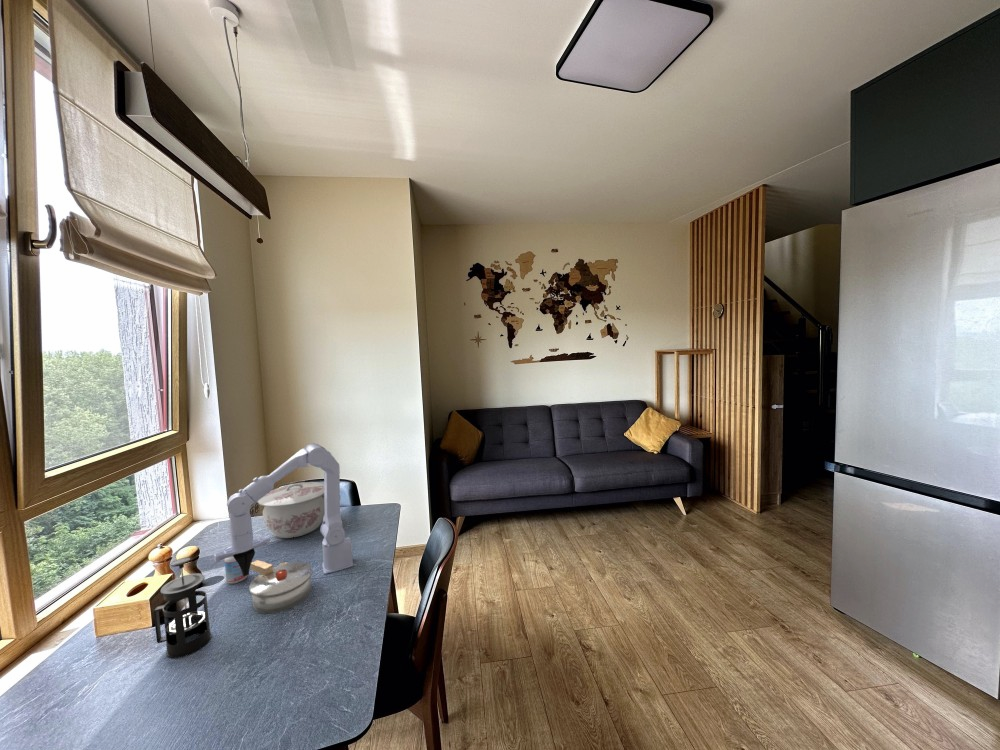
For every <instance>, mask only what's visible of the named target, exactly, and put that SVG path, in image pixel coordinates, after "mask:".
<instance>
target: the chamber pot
mask: <svg viewBox="0 0 1000 750" xmlns="http://www.w3.org/2000/svg"><path fill="white" fill-rule="evenodd" d="M257 503H258V505H259V506H263V507H264V508H263V510H262V518H263V522H264V524H265V527H266V528H267V529H268V530H269V531H270V532H271V534H272V535H274V536H276V537H278V538H281V539H291V538H292V539H294V538H298V537H302V536H305V535H308V534H309V533H312V532H314V531H315V530H316V529H318V528H320V527H319V526H321V525H322V523H323V517H324V515H325V503H324V482H319V481H318V482H317V481H309V482H307V481H306V482H297V483H292V484H288V485H283V486H281V487H277V488H273V490H272V491H270V492H269V493H268V494H266V495H265V496H264V497H262V498H261V499H260V500H258V501H257ZM293 537H294V538H293Z"/></svg>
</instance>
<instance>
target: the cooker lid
mask: <svg viewBox="0 0 1000 750" xmlns="http://www.w3.org/2000/svg"><path fill="white" fill-rule="evenodd" d="M249 570H251V571H253V572H256V573H259V574H258V575H256V576H255V577H254V578H253V579H252V580H251V582H250V584H249V588H248V589H249V593H250V595H251V596H252V595H253V596H256V597H273V596H278V595H282V594H285V593H287V592H290V591H292V590H294V589H296V588H298V587H300V586H301V585H303V584H304V583H305V582H306V581H308V579H309V578H310V577H311V578H312V575H313V568H312V566H311V565H310V564H309V563H307V562H301V561H299V562H298V561H295V562H287V563H286V564H282V565H279V564H278V565H277V566H274V565H273V564H272V563H268V562H265V561H262V560H259V559H256V560H255V561H252V562H251V565H250V569H249Z"/></svg>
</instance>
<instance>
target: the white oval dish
mask: <svg viewBox="0 0 1000 750" xmlns="http://www.w3.org/2000/svg"><path fill="white" fill-rule="evenodd" d="M286 563H288V562H287V561H285V562H282V563H279V564H278V566H279V565H282V564H286ZM312 589H313V588H312V576H311V577H310V578H309V579H308V581H306V582H305V583H304V584H303V585H301V586H300V587H298V588H296V589H294V590H292V591H290V592H287V593H285V594H282V595H278V596H273V597H256V596H253V595H252V594H251V599H252V609H253V611H255V612H256V613H258V614H261V615H266V614H267V615H268V614H269V615H271V614H277V613H281V612H284V611H287V610H289V609H292V608H294V607H296V606H297V605H299V604H301V603H302V602H303V601H305V600H306V599H308V597H309V596H310V595H311V593H312Z"/></svg>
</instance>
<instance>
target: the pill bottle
mask: <svg viewBox="0 0 1000 750" xmlns="http://www.w3.org/2000/svg"><path fill="white" fill-rule="evenodd" d="M230 547H232V545H231V546H228V547H227V548H226V549H228V548H230ZM224 569H225V570H224V571H225V581H226V583H227V584H232V585H233V584H238V583H240V582H243V581H244V580H246V579H247V578H248V576H249V575H246V576H243V575H242V571H241V568H240V566H239V564H238V562H237V561H236V560H235V558H234V557H233V556H231V557H228V558H225V559H224Z"/></svg>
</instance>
